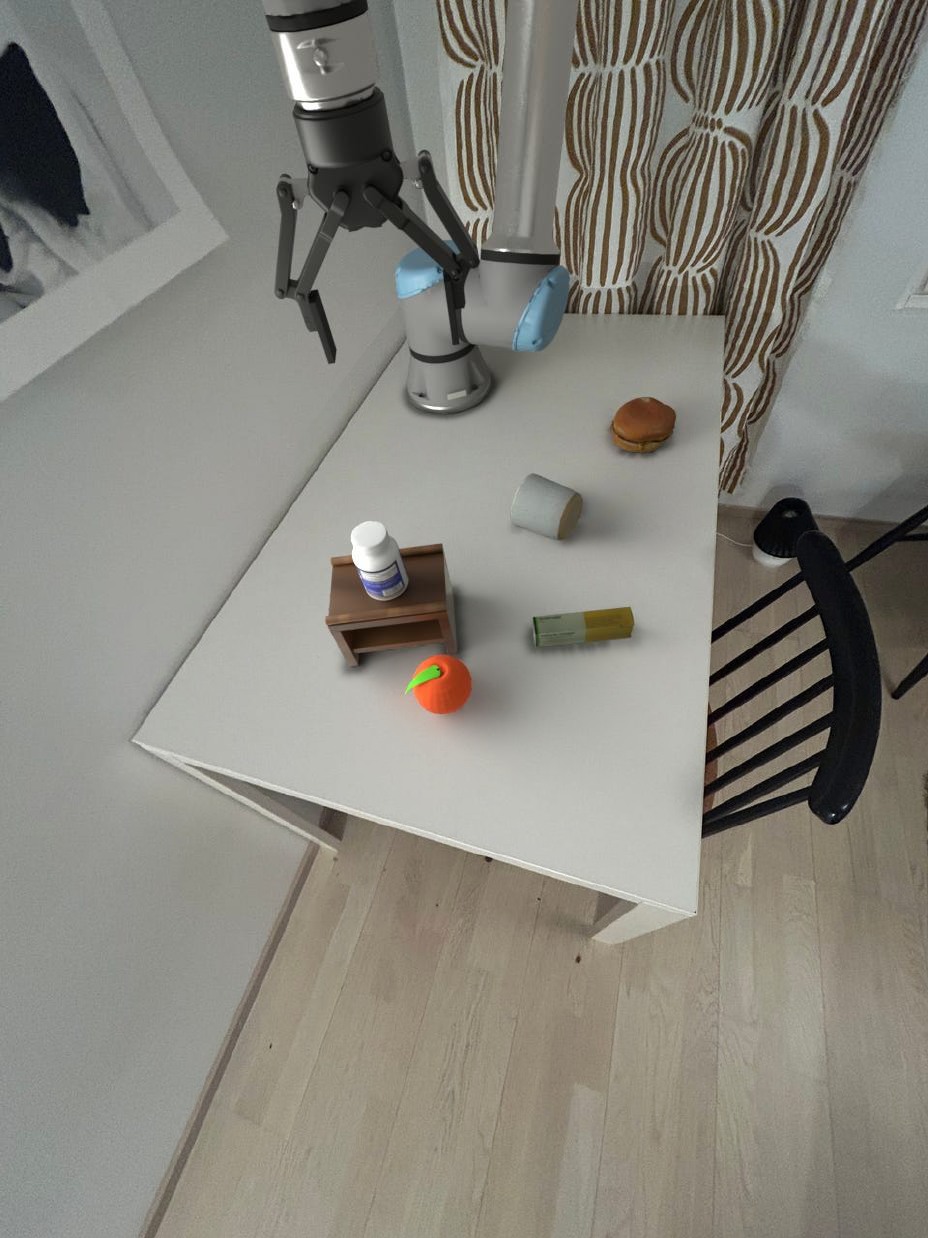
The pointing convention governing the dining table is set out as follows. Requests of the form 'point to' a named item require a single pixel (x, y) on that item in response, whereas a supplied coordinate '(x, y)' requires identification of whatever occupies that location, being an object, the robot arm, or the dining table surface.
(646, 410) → the burger
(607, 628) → the medication box
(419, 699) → the clementine
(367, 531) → the pill bottle
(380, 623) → the stand
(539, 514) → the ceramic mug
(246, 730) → the dining table surface
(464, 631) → the dining table surface
